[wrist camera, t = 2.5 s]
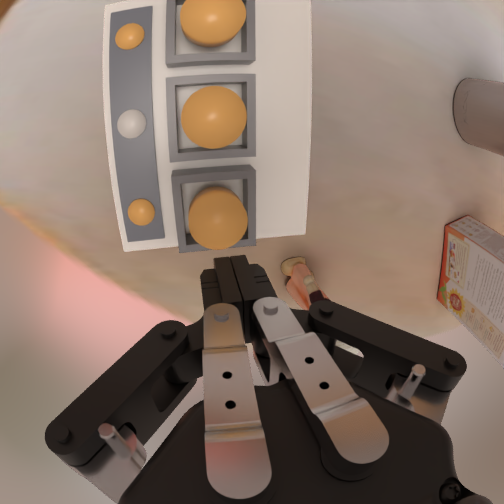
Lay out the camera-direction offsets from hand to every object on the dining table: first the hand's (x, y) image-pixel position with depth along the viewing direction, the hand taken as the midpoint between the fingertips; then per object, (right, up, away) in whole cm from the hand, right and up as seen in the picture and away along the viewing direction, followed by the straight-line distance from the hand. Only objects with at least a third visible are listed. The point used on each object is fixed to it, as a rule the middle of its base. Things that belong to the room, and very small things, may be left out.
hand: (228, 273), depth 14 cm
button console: (-3, +12, +8) cm, 15 cm away
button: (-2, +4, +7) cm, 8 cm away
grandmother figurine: (+6, -1, +18) cm, 19 cm away
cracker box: (+32, 0, +23) cm, 39 cm away
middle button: (-2, +10, +4) cm, 11 cm away
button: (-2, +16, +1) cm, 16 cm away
